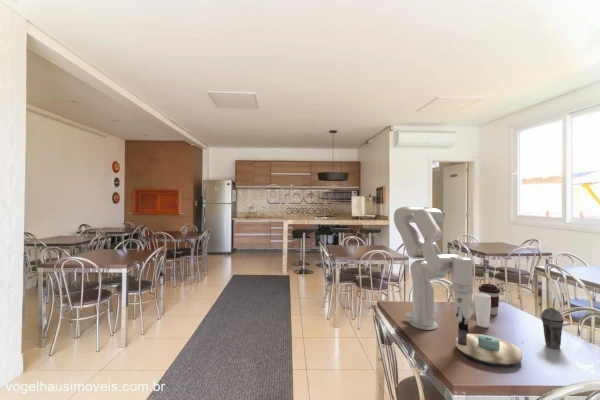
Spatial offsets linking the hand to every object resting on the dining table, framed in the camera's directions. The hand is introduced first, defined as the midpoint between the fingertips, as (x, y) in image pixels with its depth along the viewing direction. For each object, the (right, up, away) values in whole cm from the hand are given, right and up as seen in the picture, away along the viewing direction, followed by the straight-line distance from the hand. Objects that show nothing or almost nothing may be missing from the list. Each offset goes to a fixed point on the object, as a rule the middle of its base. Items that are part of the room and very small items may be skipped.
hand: (463, 333), depth 122 cm
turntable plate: (+7, -4, -5) cm, 9 cm away
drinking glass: (+22, -7, +23) cm, 33 cm away
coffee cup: (+37, -7, +41) cm, 56 cm away
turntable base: (+7, -6, -5) cm, 10 cm away
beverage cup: (+38, -7, +1) cm, 38 cm away
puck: (+7, -3, -6) cm, 9 cm away
